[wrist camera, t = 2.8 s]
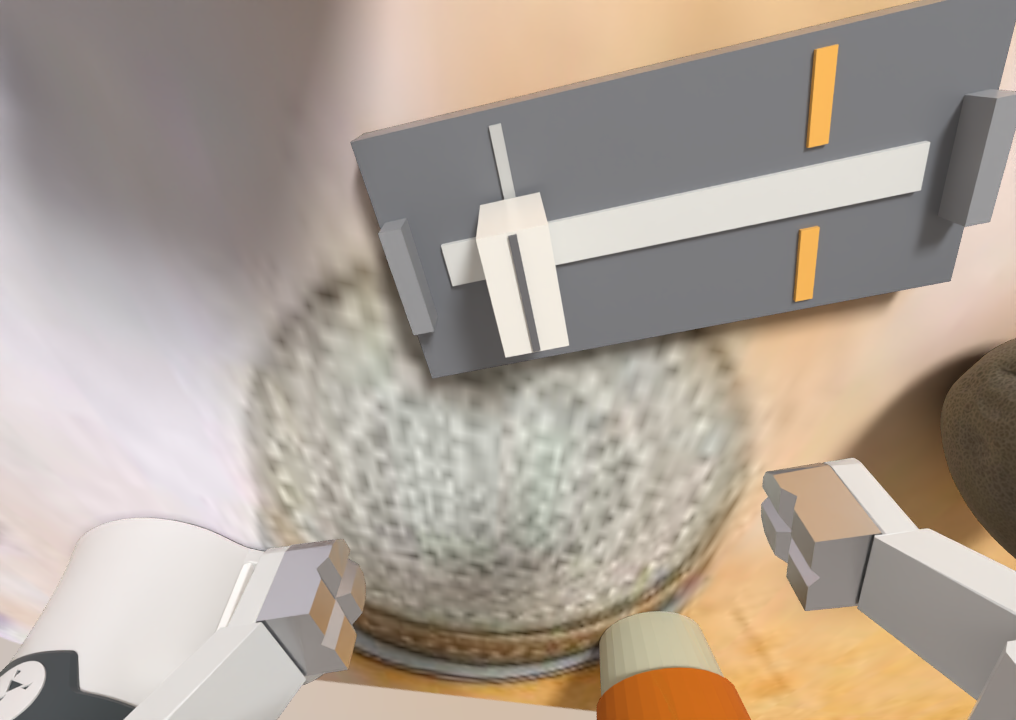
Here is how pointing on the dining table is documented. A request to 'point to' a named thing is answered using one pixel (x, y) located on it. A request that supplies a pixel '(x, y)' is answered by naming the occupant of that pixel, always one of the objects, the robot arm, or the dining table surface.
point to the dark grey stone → (985, 441)
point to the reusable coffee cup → (662, 672)
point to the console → (710, 180)
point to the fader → (521, 274)
